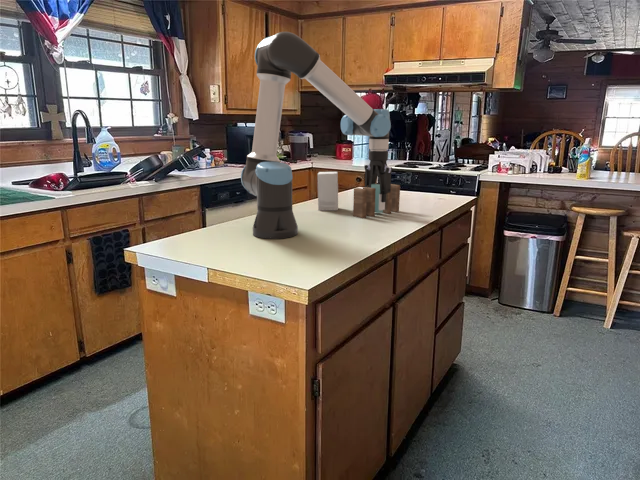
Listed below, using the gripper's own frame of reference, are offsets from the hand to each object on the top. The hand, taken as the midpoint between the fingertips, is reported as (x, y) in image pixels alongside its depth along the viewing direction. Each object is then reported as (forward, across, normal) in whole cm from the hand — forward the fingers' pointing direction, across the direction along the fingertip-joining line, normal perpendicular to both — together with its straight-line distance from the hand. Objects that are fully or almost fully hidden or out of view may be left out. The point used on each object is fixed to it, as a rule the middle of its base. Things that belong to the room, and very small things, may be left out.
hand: (376, 208), depth 192 cm
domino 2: (+2, 0, +4) cm, 5 cm away
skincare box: (+2, +19, +10) cm, 22 cm away
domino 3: (+2, 0, -5) cm, 5 cm away
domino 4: (+2, 0, -9) cm, 10 cm away
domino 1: (+2, 0, +9) cm, 9 cm away
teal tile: (+1, 0, 0) cm, 1 cm away
